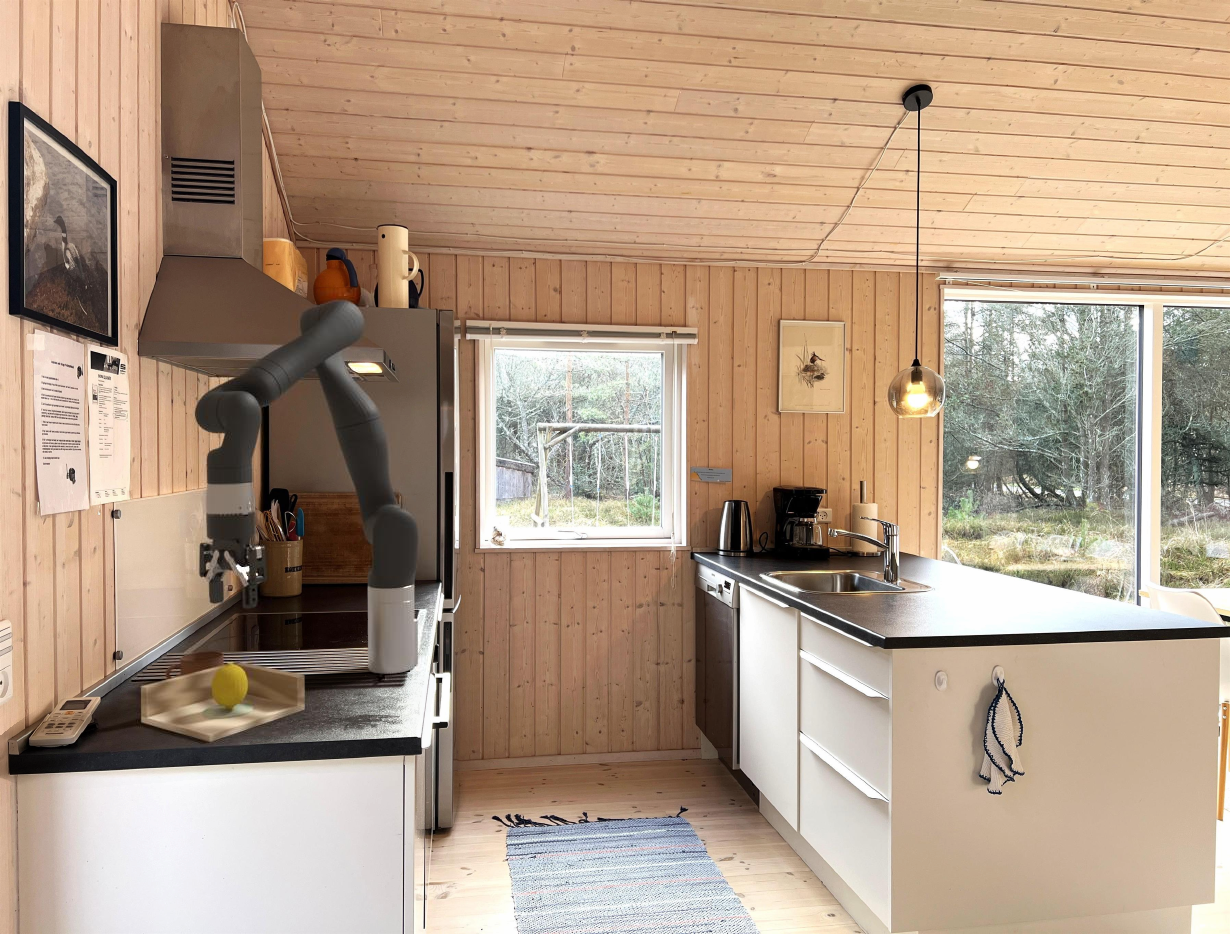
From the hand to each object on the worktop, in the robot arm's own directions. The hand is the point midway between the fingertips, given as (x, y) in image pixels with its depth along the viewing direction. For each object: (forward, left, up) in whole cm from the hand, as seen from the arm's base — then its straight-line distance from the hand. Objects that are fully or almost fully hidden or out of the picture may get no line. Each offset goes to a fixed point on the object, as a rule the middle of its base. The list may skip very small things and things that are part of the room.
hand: (233, 605), depth 141 cm
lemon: (+1, 0, -18) cm, 18 cm away
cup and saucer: (-7, -19, -19) cm, 28 cm away
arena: (+1, -1, -19) cm, 19 cm away
